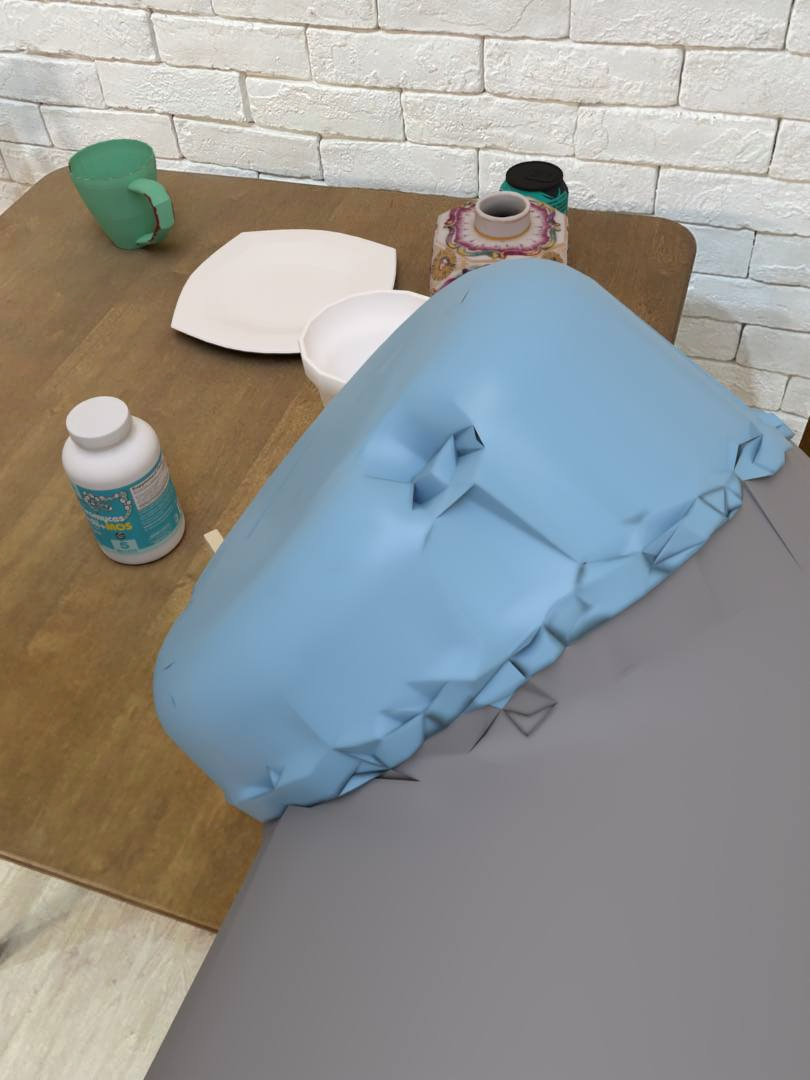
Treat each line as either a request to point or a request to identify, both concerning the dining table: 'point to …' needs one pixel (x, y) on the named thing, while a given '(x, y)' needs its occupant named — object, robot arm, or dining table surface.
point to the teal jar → (538, 183)
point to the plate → (276, 286)
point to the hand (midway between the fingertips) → (400, 729)
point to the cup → (351, 335)
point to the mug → (123, 191)
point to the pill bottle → (122, 481)
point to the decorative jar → (495, 235)
